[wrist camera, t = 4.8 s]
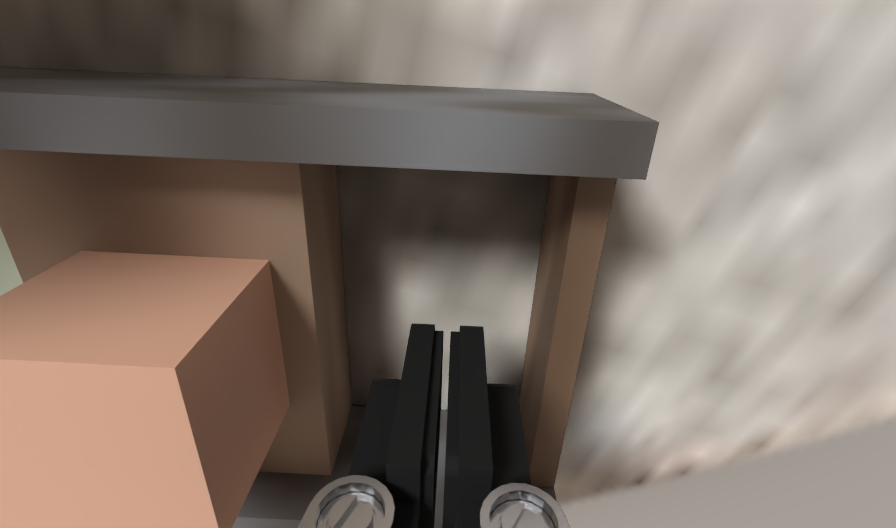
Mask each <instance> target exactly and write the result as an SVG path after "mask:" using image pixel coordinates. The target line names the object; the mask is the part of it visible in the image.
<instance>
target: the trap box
mask: <svg viewBox="0 0 896 528" xmlns="http://www.w3.org/2000/svg"><path fill="white" fill-rule="evenodd" d="M658 125H659V122H657V121H655V120H652V119H650V118H648V117H646V116H643V115H641V114H639V113H636V112H634V111H632V110H629V109H627V108H625V107H623V106H620V105H618V104H616V103H613V102H611V101H609V100H606V99H604V98H602V97H600V96H597V95H595V94H589V93H567V92H545V91H523V90H500V89H478V88H456V87H434V86H412V85H390V84H368V83H346V82H324V81H302V80H280V79H258V78H235V77H213V76H191V75H169V74H147V73H125V72H103V71H81V70H59V69H37V68H15V67H0V296H1V295H3V294H5V293H6V292H8V291H10V290H12V289H14V288H15V287H17V286H19V285H21V284H22V283H24V282H26V281H28V280H30V279H31V278H33V277H35V276H37V275H39V274H40V273H42V272H44V271H46V270H48V269H49V268H51V267H53V266H55V265H57V264H58V263H60V262H62V261H64V260H66V259H67V258H69V257H71V256H73V255H75V254H76V253H78V252H80V251H95V252H115V253H135V254H156V255H176V256H196V257H216V258H237V259H257V260H269V262H270V269H271V276H272V283H273V290H274V297H275V304H276V311H277V318H278V325H279V332H280V339H281V346H282V353H283V359H284V366H285V373H286V380H287V387H288V394H289V401H290V406H289V408H288V410H287V413H286V415H285V417H284V419H283V421H282V423H281V425H280V427H279V429H278V432H277V434H276V436H275V438H274V440H273V442H272V444H271V446H270V449H269V451H268V453H267V455H266V457H265V459H264V461H263V463H262V465H261V468H260V470H259V472H258V474H257V476H256V478H255V480H254V482H253V484H252V487H251V489H250V491H249V493H248V495H247V497H246V499H245V501H244V503H243V506H242V508H241V510H240V512H239V514H238V516H237V518H236V520H235V522H234V525H233V527H232V528H298V526H299V524H300V522H301V520H302V518H303V516H304V514H305V512H306V510H307V508H308V506H309V504H310V503H311V501H312V500H313V498H314V497H315V495H316V494H317V493H318V492H319V491H320V490H321V489H322V488H324V487H325V486H326V485H327V484H329V483H331V482H333V481H335V480H337V479H339V478H342V477H347V476H348V474H349V470H350V466H351V463H352V459H353V455H354V451H355V447H356V444H357V440H358V436H359V432H360V428H361V425H362V421H363V417H364V413H365V409H366V406H354V405H352V395H351V380H350V365H349V350H348V336H347V321H346V306H345V291H344V276H343V261H342V246H341V231H340V216H339V202H338V187H337V172H336V165H346V166H367V167H389V168H410V169H431V170H452V171H473V172H495V173H516V174H537V175H550V182H549V190H548V197H547V204H546V211H545V218H544V225H543V233H542V240H541V247H540V254H539V261H538V268H537V276H536V283H535V290H534V297H533V304H532V311H531V319H530V326H529V333H528V340H527V347H526V354H525V362H524V369H523V376H522V383H521V390H520V398H519V407H520V414H521V421H522V427H523V434H524V440H525V447H526V453H527V460H528V466H529V473H530V480H531V485H532V486H535V487H538V488H540V489H541V490H543V491H545V492H546V493H548V494H549V495H551V497H552V498H553V499H554V500H555V501H556V497H555V492H554V483H555V478H556V474H557V469H558V464H559V459H560V454H561V449H562V444H563V439H564V434H565V429H566V425H567V420H568V415H569V410H570V405H571V400H572V395H573V390H574V385H575V380H576V376H577V371H578V366H579V361H580V356H581V351H582V346H583V341H584V336H585V331H586V327H587V322H588V317H589V312H590V307H591V302H592V297H593V292H594V287H595V282H596V278H597V273H598V268H599V263H600V258H601V253H602V248H603V243H604V238H605V233H606V229H607V224H608V219H609V214H610V209H611V204H612V199H613V194H614V189H615V184H616V180H617V178H622V179H643V180H646V176H647V172H648V168H649V164H650V159H651V155H652V151H653V146H654V142H655V138H656V133H657V129H658ZM446 433H447V410H441V418H440V438H439V454H438V471H437V488H436V505H435V522H434V528H442V527H443V503H444V480H445V456H446Z"/></svg>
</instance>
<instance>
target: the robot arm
mask: <svg viewBox="0 0 896 528" xmlns="http://www.w3.org/2000/svg"><path fill="white" fill-rule="evenodd" d="M442 360H443V331H435V325H432V324H411V329H410V335H409V340H408V346H407V351H406V357H405V362H404V368H403V373H402V379H401V380H398V379H376V378H375V379H374V380H373V383H372V387H371V391H370V394H369V398H368V402H367V406H366V409H365V413H364V417H363V421H362V425H361V428H360V432H359V436H358V440H357V444H356V447H355V451H354V455H353V459H352V463H351V466H350V470H349V474H348V476H347V477H342V478H339V479H337V480H335V481H333V482H331V483H329V484H327V485H326V486H325V487H324V488H322V489H321V490H320V491H319V492H318V493H317V494H316V495H315V497H314V498H313V500H312V501H311V503H310V504H309V506H308V508H307V510H306V512H305V514H304V516H303V518H302V520H301V522H300V524H299V526H298V528H434V522H435V505H436V488H437V471H438V454H439V438H440V418H441V389H442ZM442 528H570V526H569V524H568V521H567V518H566V516H565V514H564V512H563V510H562V509H561V507H560V505H559V504H558V503H557V502H556V501H555V500H554V499H553V498H552V497H551V495H549V494H548V493H546V492H545V491H543V490H541V489H540V488H538V487H535V486H532V485H531V480H530V473H529V466H528V460H527V453H526V447H525V440H524V434H523V427H522V421H521V414H520V407H519V401H518V394H517V389H516V386H515V385H507V384H487V374H486V360H485V345H484V331H483V327H477V326H460V332H451V339H450V362H449V386H448V409H447V433H446V456H445V480H444V503H443V527H442Z"/></svg>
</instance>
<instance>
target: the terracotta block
mask: <svg viewBox="0 0 896 528" xmlns="http://www.w3.org/2000/svg"><path fill="white" fill-rule="evenodd" d="M289 406H290V401H289V394H288V387H287V380H286V373H285V366H284V359H283V353H282V346H281V339H280V332H279V325H278V318H277V311H276V304H275V297H274V290H273V283H272V276H271V269H270V262H269V260H257V259H237V258H216V257H196V256H176V255H156V254H135V253H115V252H95V251H80V252H78V253H76V254H75V255H73V256H71V257H69V258H67V259H66V260H64V261H62V262H60V263H58V264H57V265H55V266H53V267H51V268H49V269H48V270H46V271H44V272H42V273H40V274H39V275H37V276H35V277H33V278H31V279H30V280H28V281H26V282H24V283H22V284H21V285H19V286H17V287H15V288H14V289H12V290H10V291H8V292H6V293H5V294H3V295H1V296H0V528H232V527H233V525H234V522H235V520H236V518H237V516H238V514H239V512H240V510H241V508H242V506H243V503H244V501H245V499H246V497H247V495H248V493H249V491H250V489H251V487H252V484H253V482H254V480H255V478H256V476H257V474H258V472H259V470H260V468H261V465H262V463H263V461H264V459H265V457H266V455H267V453H268V451H269V449H270V446H271V444H272V442H273V440H274V438H275V436H276V434H277V432H278V429H279V427H280V425H281V423H282V421H283V419H284V417H285V415H286V413H287V410H288V408H289Z"/></svg>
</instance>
